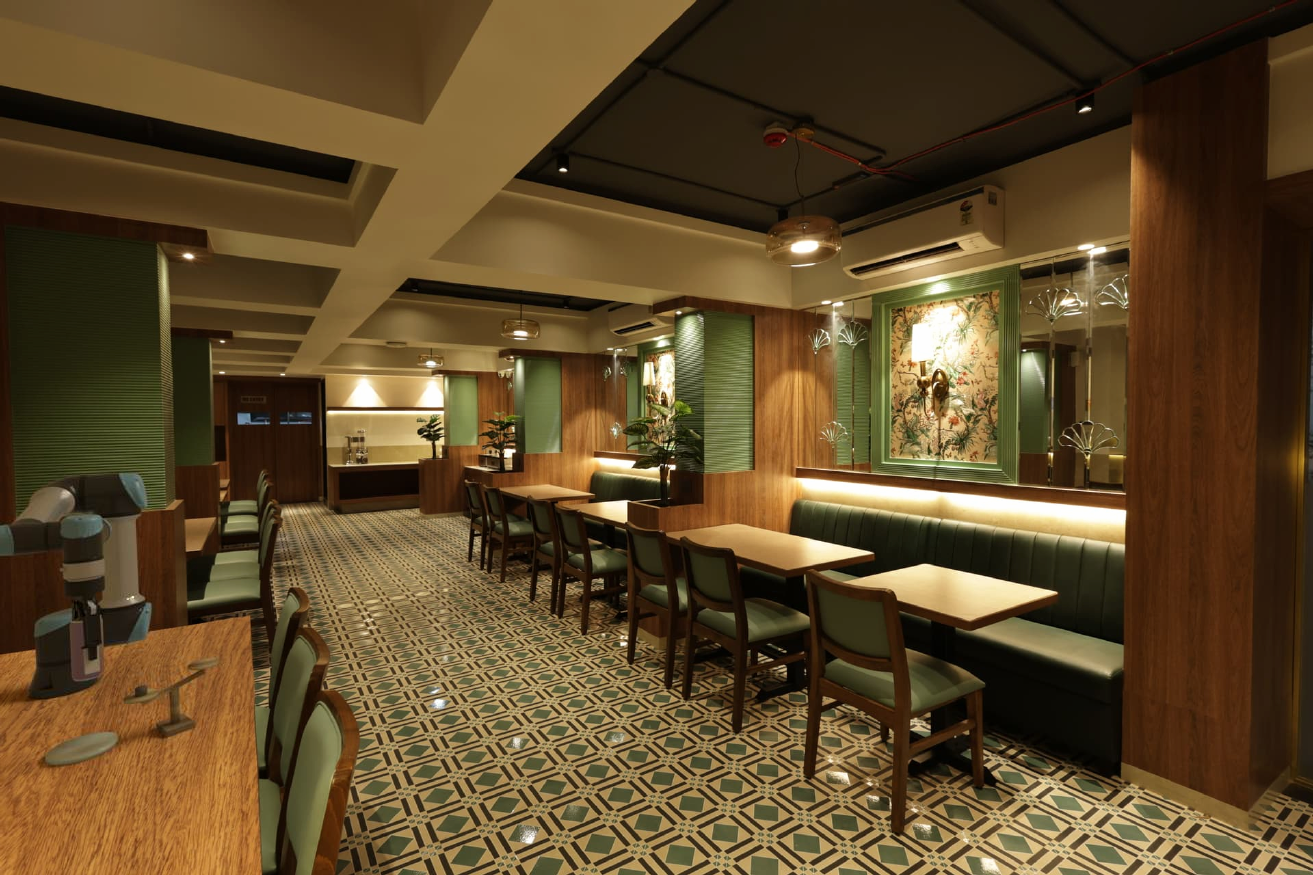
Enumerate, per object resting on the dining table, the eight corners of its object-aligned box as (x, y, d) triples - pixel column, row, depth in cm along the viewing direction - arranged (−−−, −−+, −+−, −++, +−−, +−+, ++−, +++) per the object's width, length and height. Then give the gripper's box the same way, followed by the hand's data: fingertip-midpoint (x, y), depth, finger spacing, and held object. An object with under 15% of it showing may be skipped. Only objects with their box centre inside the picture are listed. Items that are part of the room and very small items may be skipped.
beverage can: (84, 682, 148) (82, 622, 148) (65, 680, 149) (62, 620, 149) (110, 672, 154) (108, 614, 153) (92, 670, 155) (89, 612, 155)
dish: (39, 754, 148) (38, 749, 148) (108, 731, 159) (108, 726, 159) (52, 771, 141) (52, 766, 141) (125, 746, 151) (124, 741, 151)
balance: (120, 740, 154) (117, 682, 154) (214, 707, 171) (212, 655, 170) (130, 750, 150) (128, 690, 149) (226, 715, 167) (224, 661, 166)
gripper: (53, 575, 153) (57, 666, 154) (74, 586, 142) (79, 683, 143) (92, 569, 159) (96, 656, 160) (116, 579, 149) (120, 672, 149)
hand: (88, 669), depth 152 cm, fingers closed on beverage can, 6 cm apart
